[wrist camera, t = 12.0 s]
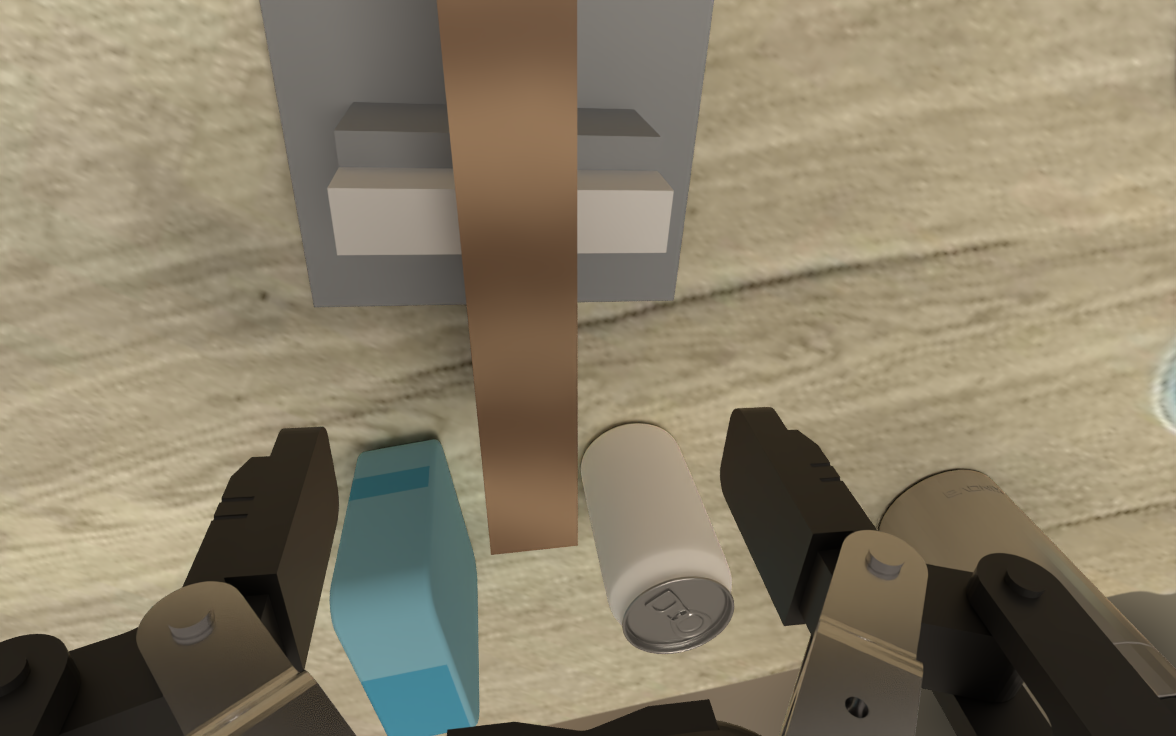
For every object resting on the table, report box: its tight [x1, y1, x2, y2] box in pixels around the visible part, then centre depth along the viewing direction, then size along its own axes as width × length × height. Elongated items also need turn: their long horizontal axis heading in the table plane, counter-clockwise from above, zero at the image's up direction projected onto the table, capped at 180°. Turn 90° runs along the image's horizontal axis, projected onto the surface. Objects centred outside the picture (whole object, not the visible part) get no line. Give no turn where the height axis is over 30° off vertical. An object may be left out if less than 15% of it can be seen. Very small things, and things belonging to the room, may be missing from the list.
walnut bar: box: [437, 0, 578, 555], centre depth 23 cm, size 26×4×4 cm, turn 0°
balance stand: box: [260, 0, 714, 307], centre depth 28 cm, size 14×18×9 cm
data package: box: [330, 439, 479, 736], centre depth 38 cm, size 12×4×12 cm, turn 6°
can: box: [581, 423, 734, 654], centre depth 38 cm, size 6×6×12 cm
